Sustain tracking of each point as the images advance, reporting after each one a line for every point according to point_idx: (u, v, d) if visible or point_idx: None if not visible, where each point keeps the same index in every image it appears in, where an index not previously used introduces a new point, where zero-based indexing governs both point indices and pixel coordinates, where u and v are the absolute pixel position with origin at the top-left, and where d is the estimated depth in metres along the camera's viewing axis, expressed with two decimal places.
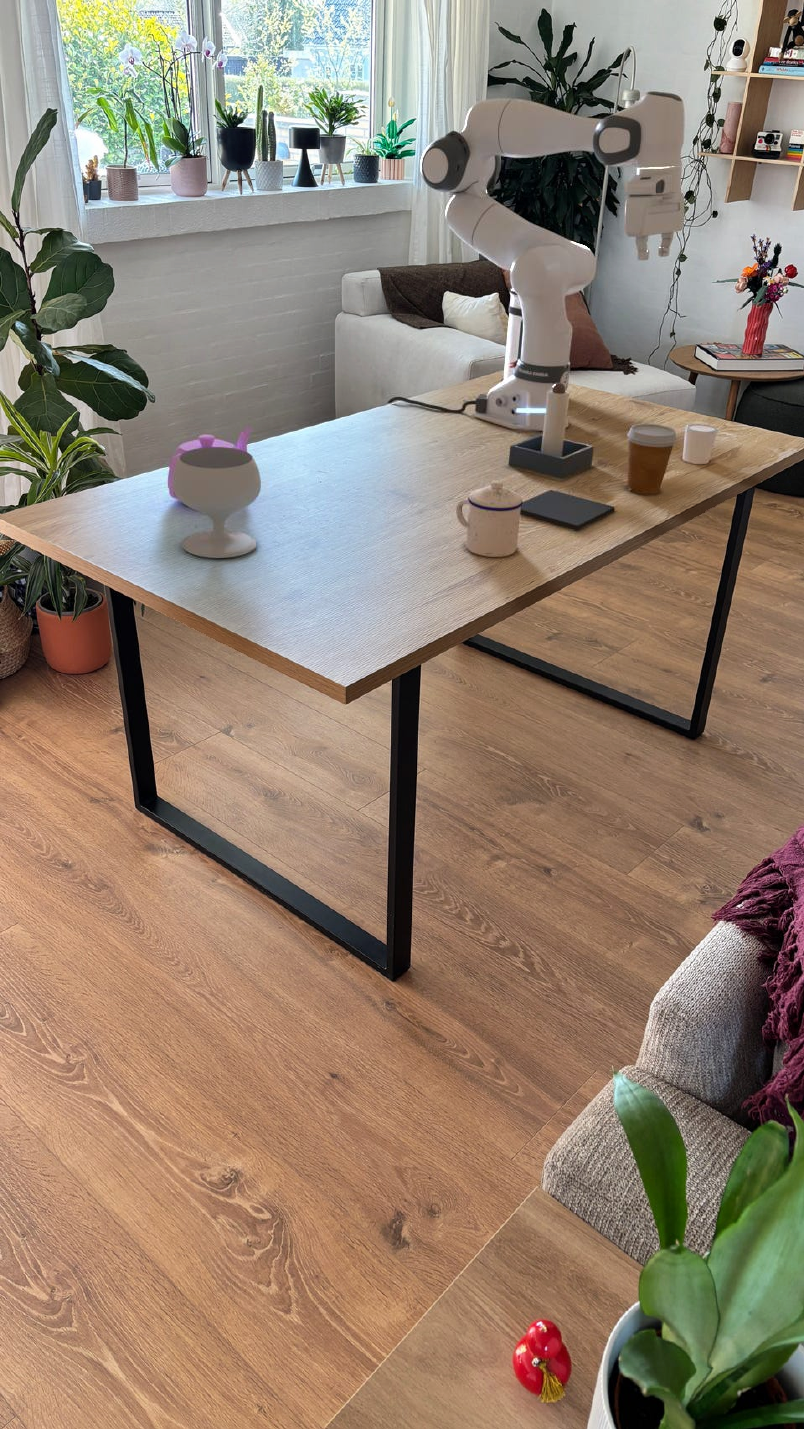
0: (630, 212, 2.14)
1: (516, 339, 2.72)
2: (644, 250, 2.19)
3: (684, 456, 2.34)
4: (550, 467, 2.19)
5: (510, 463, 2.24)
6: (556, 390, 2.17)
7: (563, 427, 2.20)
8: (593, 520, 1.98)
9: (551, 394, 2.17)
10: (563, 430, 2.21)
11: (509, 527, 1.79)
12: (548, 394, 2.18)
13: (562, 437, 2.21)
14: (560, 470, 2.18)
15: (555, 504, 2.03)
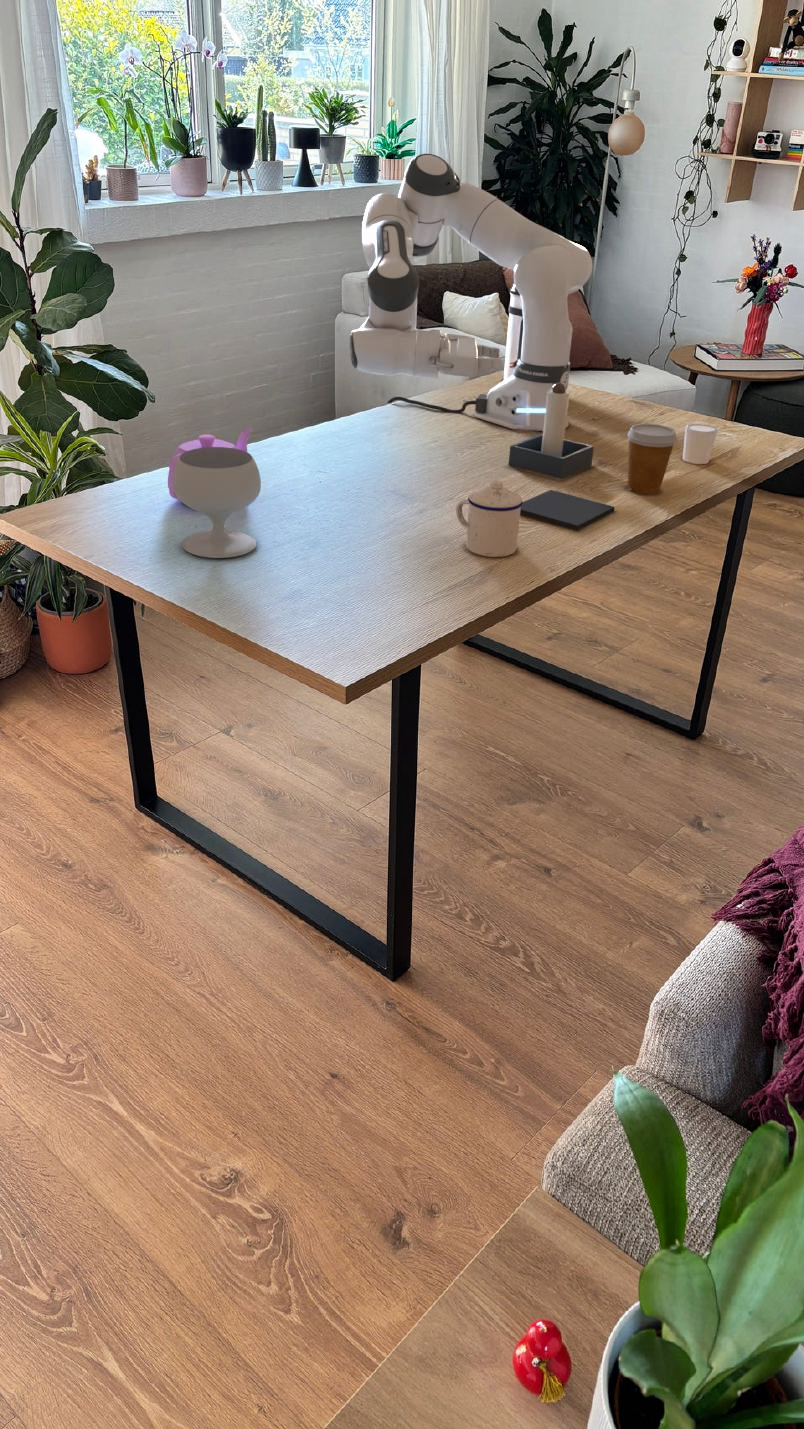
0: None
1: (516, 339, 2.72)
2: None
3: (684, 456, 2.34)
4: (550, 467, 2.19)
5: (510, 463, 2.24)
6: (556, 390, 2.17)
7: (563, 427, 2.20)
8: (593, 520, 1.98)
9: (551, 394, 2.17)
10: (563, 430, 2.21)
11: (509, 527, 1.79)
12: (548, 394, 2.18)
13: (562, 437, 2.21)
14: (560, 470, 2.18)
15: (555, 504, 2.03)
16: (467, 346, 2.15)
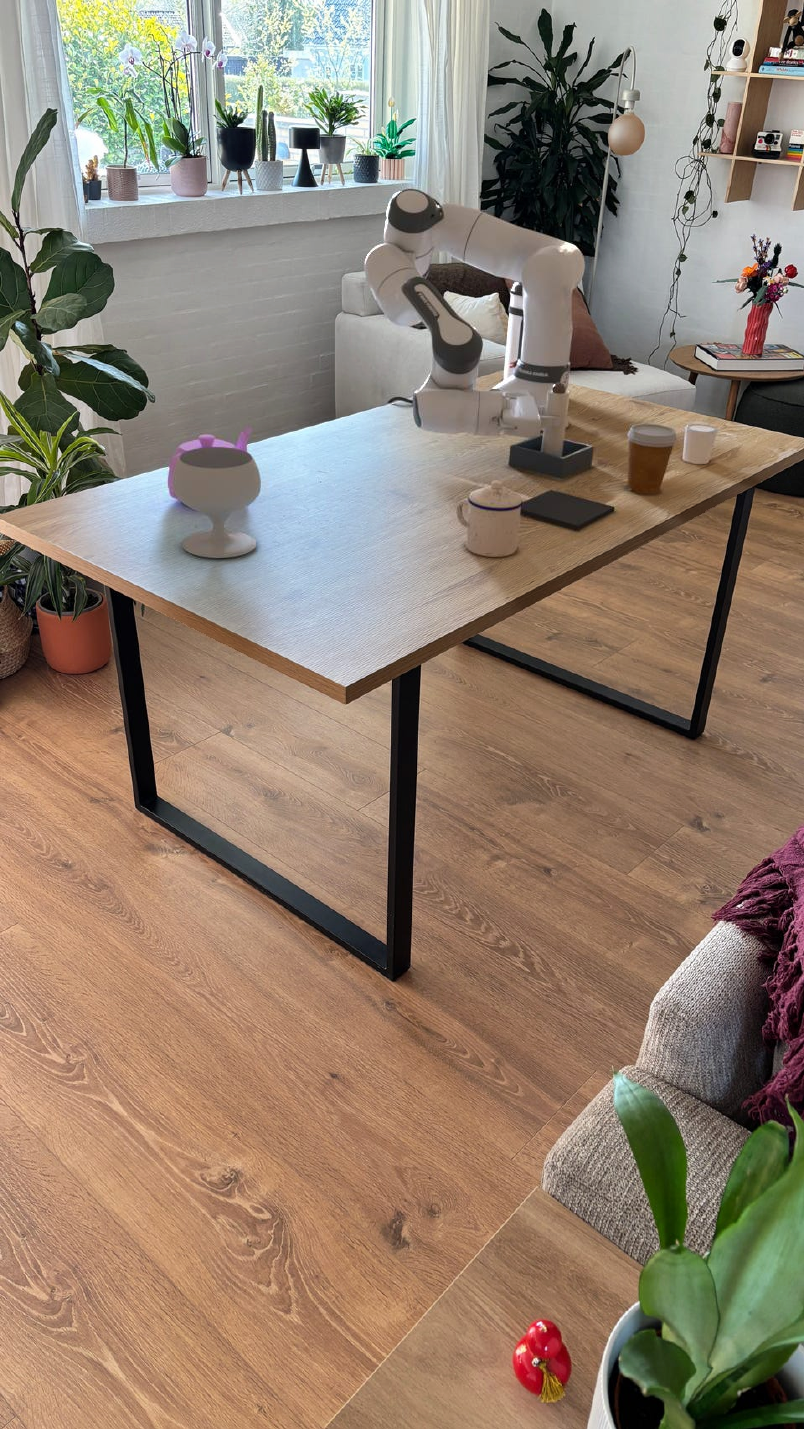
0: None
1: (516, 339, 2.72)
2: None
3: (684, 456, 2.34)
4: (550, 467, 2.19)
5: (510, 463, 2.24)
6: (556, 390, 2.17)
7: (563, 427, 2.20)
8: (593, 520, 1.98)
9: (551, 394, 2.17)
10: (563, 430, 2.21)
11: (509, 527, 1.79)
12: (548, 394, 2.18)
13: (562, 437, 2.21)
14: (560, 470, 2.18)
15: (555, 504, 2.03)
16: (528, 406, 2.20)
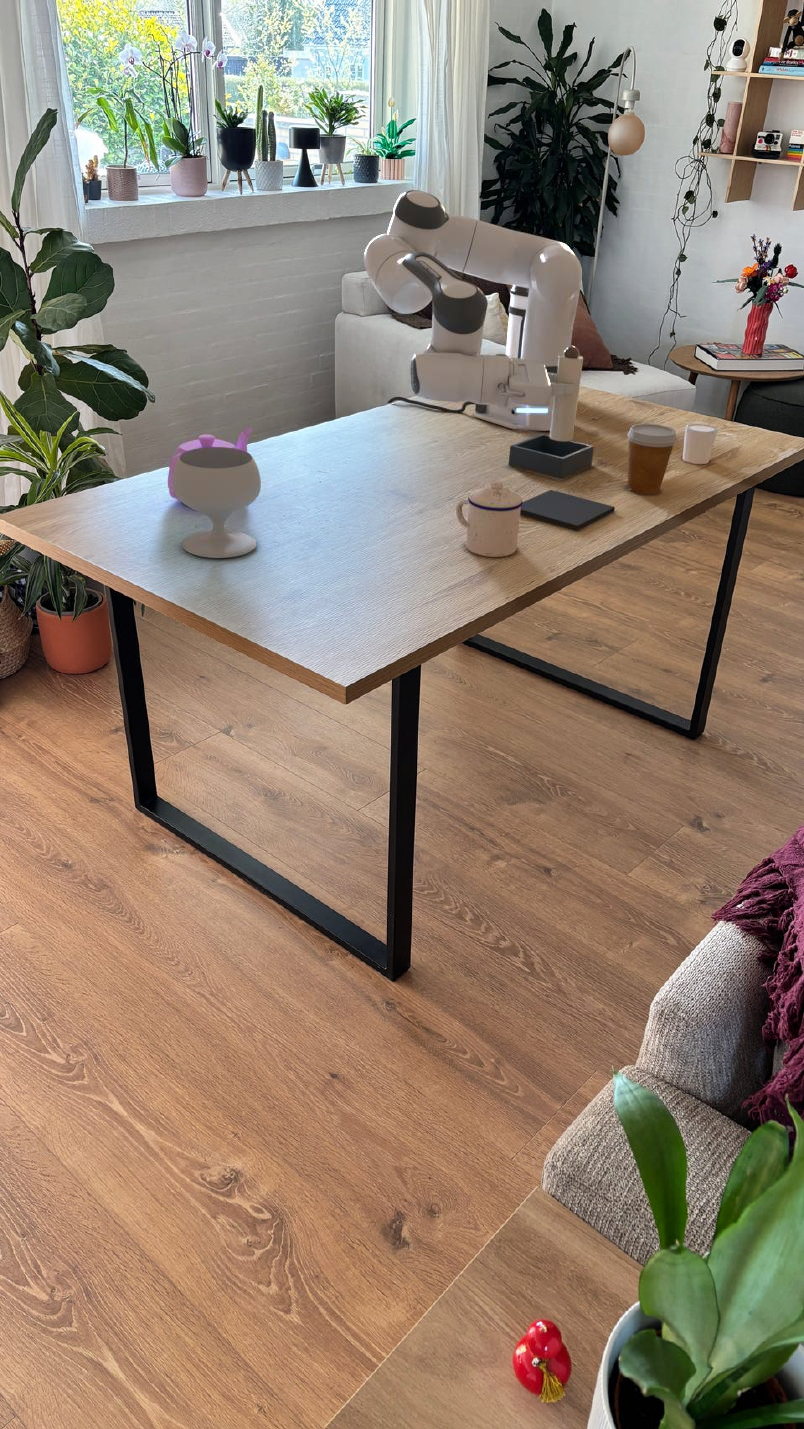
0: None
1: (516, 339, 2.72)
2: None
3: (684, 456, 2.34)
4: (550, 467, 2.19)
5: (510, 463, 2.24)
6: (568, 354, 1.97)
7: (576, 396, 2.00)
8: (593, 520, 1.98)
9: (563, 359, 1.97)
10: (576, 399, 2.01)
11: (509, 527, 1.79)
12: (560, 359, 1.98)
13: (574, 407, 2.01)
14: (560, 470, 2.18)
15: (555, 504, 2.03)
16: (537, 372, 2.00)
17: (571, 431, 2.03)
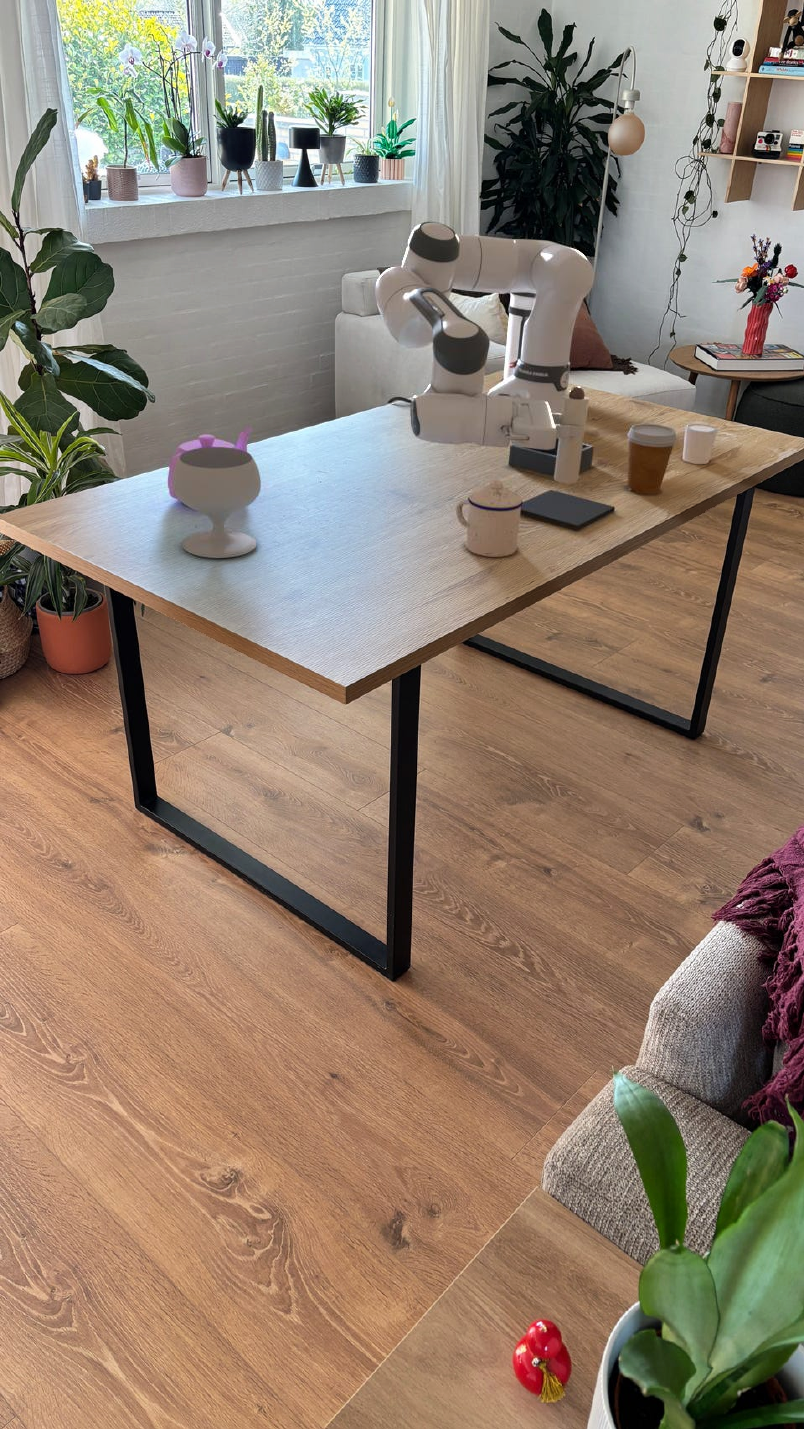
0: None
1: (516, 339, 2.72)
2: None
3: (684, 456, 2.34)
4: (550, 467, 2.19)
5: (510, 463, 2.24)
6: (574, 395, 1.91)
7: (581, 437, 1.94)
8: (593, 520, 1.98)
9: (568, 400, 1.91)
10: (581, 441, 1.94)
11: (509, 527, 1.79)
12: (564, 400, 1.91)
13: (580, 449, 1.95)
14: None
15: (555, 504, 2.03)
16: (541, 413, 1.94)
17: (576, 473, 1.97)
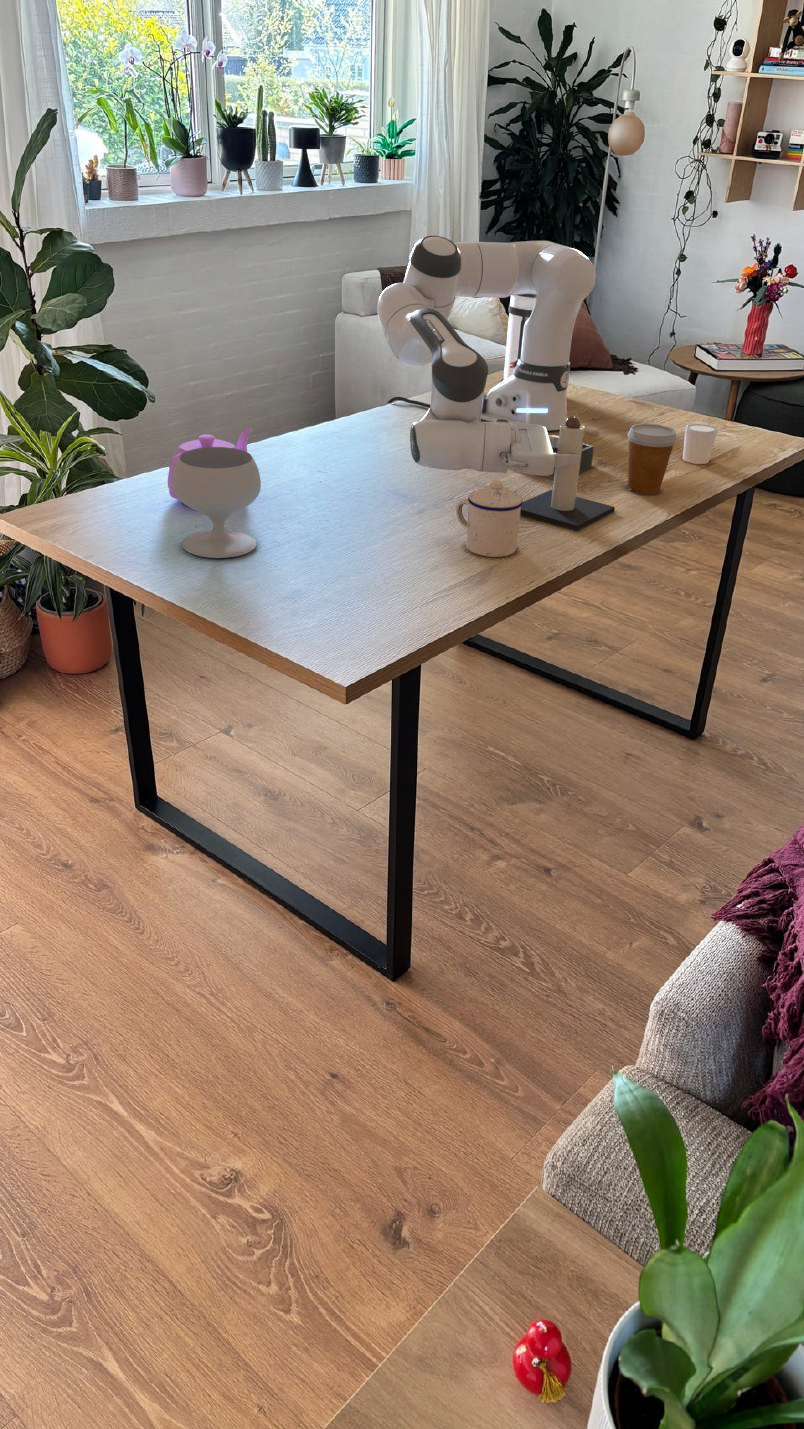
0: None
1: (516, 339, 2.72)
2: None
3: (684, 456, 2.34)
4: None
5: None
6: (570, 425, 1.93)
7: (577, 466, 1.97)
8: (593, 520, 1.98)
9: (564, 429, 1.93)
10: (577, 469, 1.97)
11: (509, 527, 1.79)
12: (561, 429, 1.94)
13: (576, 477, 1.98)
14: None
15: None
16: (539, 439, 1.96)
17: (573, 500, 2.00)
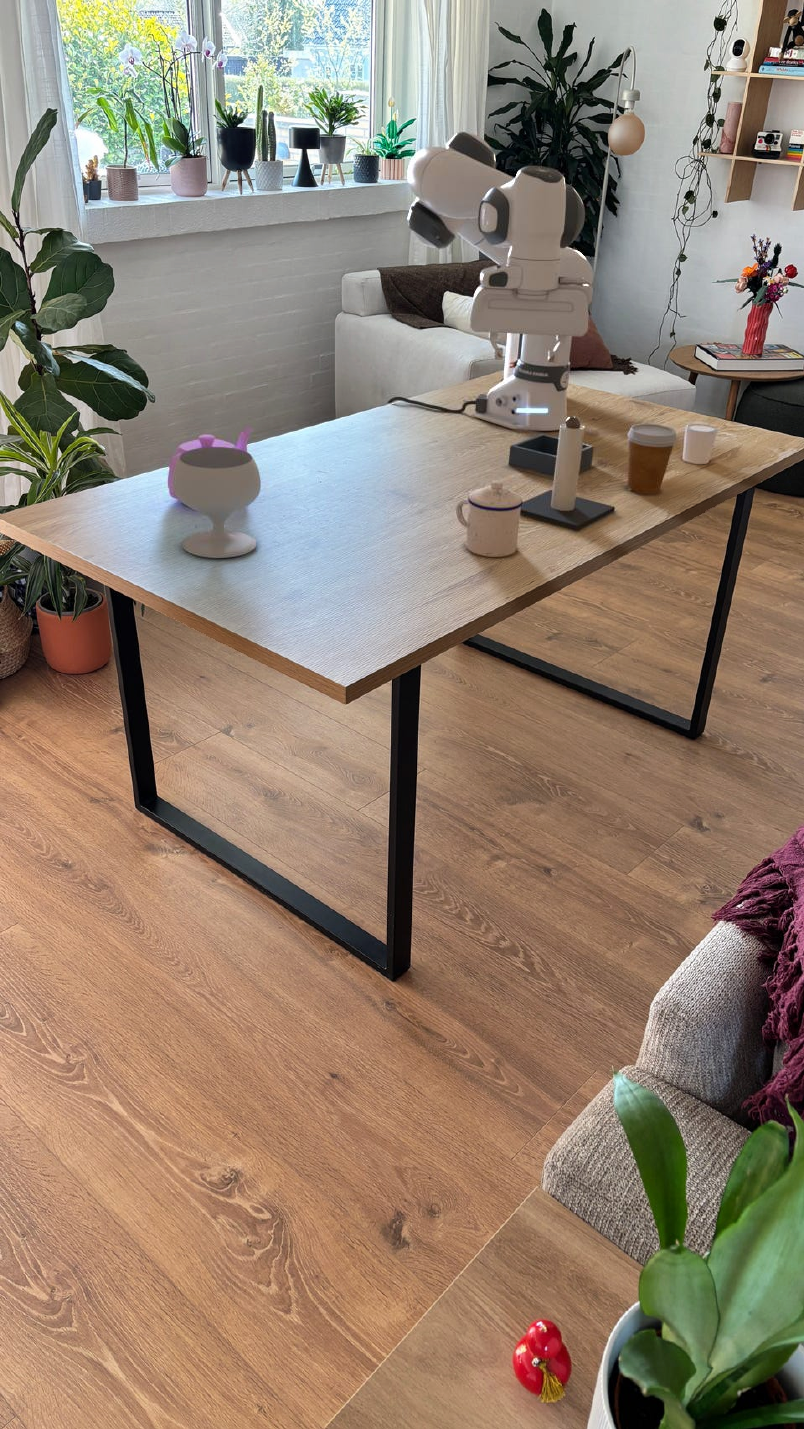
0: (472, 302, 1.85)
1: (516, 339, 2.72)
2: None
3: (684, 456, 2.34)
4: (550, 467, 2.19)
5: (510, 463, 2.24)
6: (570, 425, 1.93)
7: (577, 466, 1.97)
8: (593, 520, 1.98)
9: (564, 429, 1.93)
10: (577, 469, 1.97)
11: (509, 527, 1.79)
12: (561, 429, 1.94)
13: (576, 477, 1.98)
14: None
15: None
16: None
17: (573, 500, 2.00)
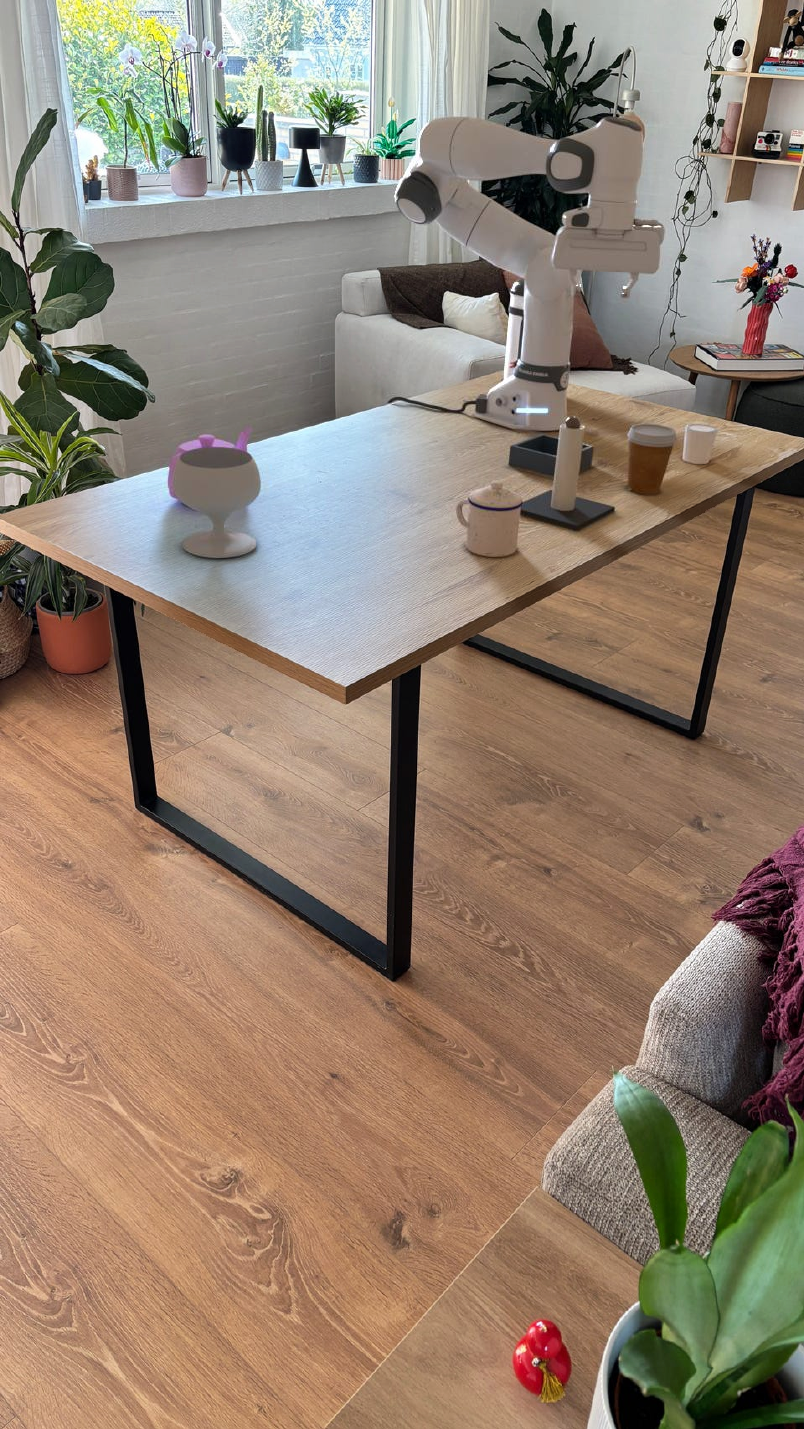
0: (554, 242, 2.05)
1: (516, 339, 2.72)
2: (572, 284, 2.07)
3: (684, 456, 2.34)
4: (550, 467, 2.19)
5: (510, 463, 2.24)
6: (570, 425, 1.93)
7: (577, 466, 1.97)
8: (593, 520, 1.98)
9: (564, 429, 1.93)
10: (577, 469, 1.97)
11: (509, 527, 1.79)
12: (561, 429, 1.94)
13: (576, 477, 1.98)
14: None
15: None
16: None
17: (573, 500, 2.00)
